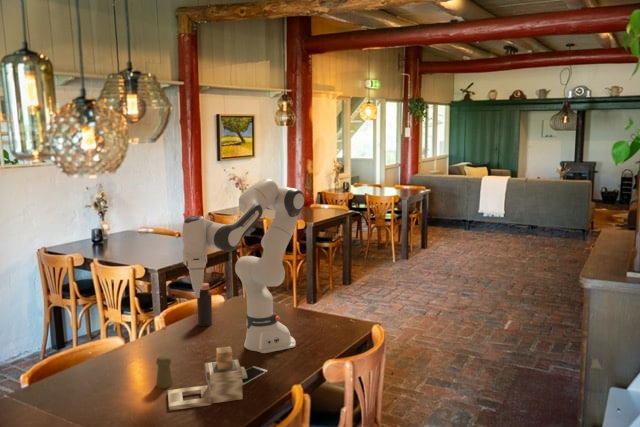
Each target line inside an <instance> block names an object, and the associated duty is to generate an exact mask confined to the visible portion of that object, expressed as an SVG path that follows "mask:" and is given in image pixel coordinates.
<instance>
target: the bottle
mask: <svg viewBox="0 0 640 427" xmlns="http://www.w3.org/2000/svg"><path fill="white" fill-rule="evenodd" d="M209 290H210V283H208V282H203V287H202V288H201V289H200V297H199V298H196V301H197V302H196V304H197V305H196V306H197V307H196V308H197V325H198V326H199V327H209V326H211V325H212V324H213V309H212V308H213V304H212V296H213V295H212V293H211V292H210V291H209Z"/></svg>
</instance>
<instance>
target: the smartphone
mask: <svg viewBox="0 0 640 427" xmlns="http://www.w3.org/2000/svg"><path fill="white" fill-rule="evenodd" d="M245 371H246V373H247V378H244V379H242V386H245V385H246V384H248V383H250V382H251V381H253V380H255V379H257V378H259V377H261V376H262V375H264V374H265V372H266V373H267V372H268V369H265V368H261V367H259V366H256V365H253V366H252V367H249V368H247V369H245Z"/></svg>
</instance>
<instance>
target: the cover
mask: <svg viewBox="0 0 640 427" xmlns="http://www.w3.org/2000/svg"><path fill="white" fill-rule="evenodd" d="M208 363H209V362H205V363H204V374H205V375H204V376H205V379H206V383H207V384H208V383H210V371H209V367H208ZM240 367H241V369H242V379H244V378H247V373H246V371H245V370H246V369H245V366H240Z"/></svg>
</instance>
